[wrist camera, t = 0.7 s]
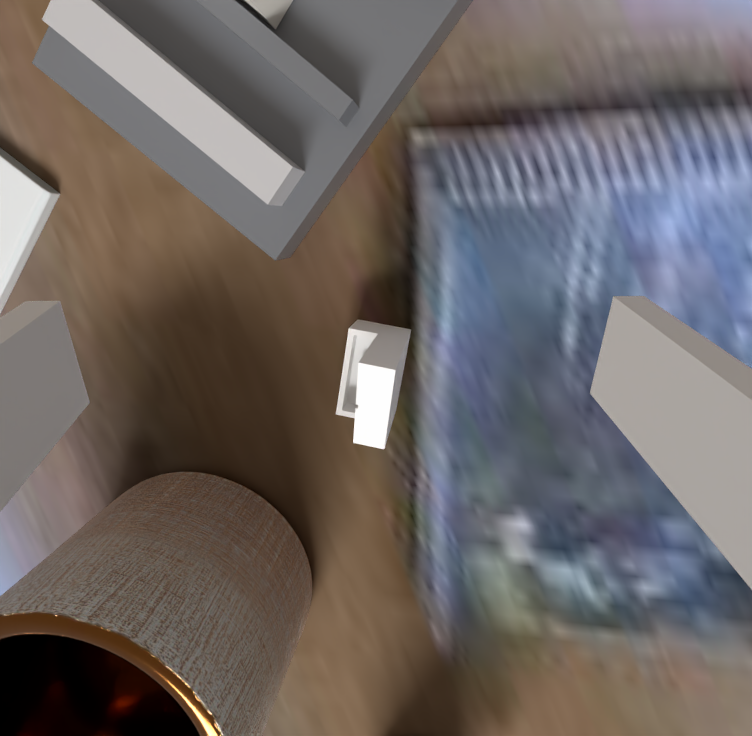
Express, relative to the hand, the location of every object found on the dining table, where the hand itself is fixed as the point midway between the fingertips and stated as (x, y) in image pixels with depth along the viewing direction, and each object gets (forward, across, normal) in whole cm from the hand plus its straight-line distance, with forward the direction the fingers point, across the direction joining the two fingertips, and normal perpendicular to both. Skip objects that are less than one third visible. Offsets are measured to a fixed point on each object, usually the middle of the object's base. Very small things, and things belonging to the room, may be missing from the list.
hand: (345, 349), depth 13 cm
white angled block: (+20, -2, +11) cm, 23 cm away
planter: (+19, +11, +28) cm, 36 cm away
